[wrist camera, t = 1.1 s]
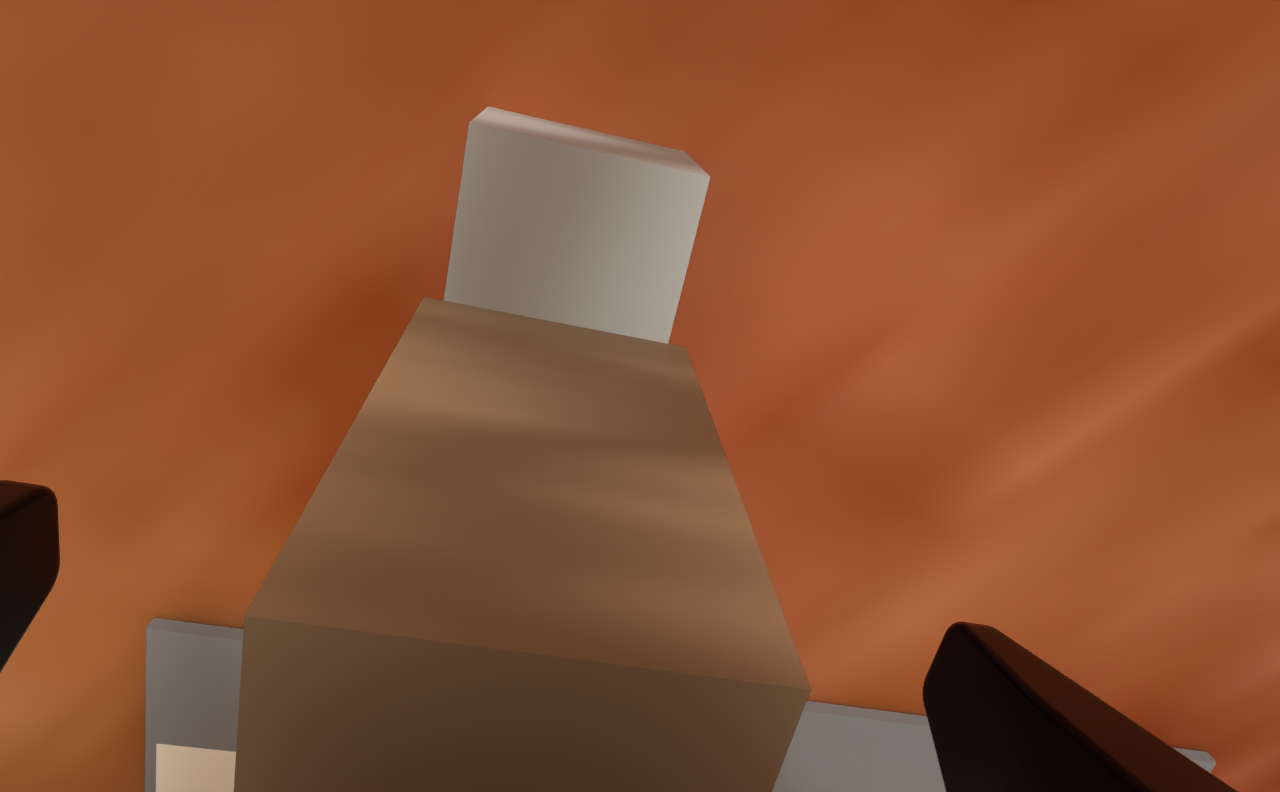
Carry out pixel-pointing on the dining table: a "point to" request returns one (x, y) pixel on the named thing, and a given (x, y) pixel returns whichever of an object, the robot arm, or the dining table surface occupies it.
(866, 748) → the board
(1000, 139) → the dining table surface
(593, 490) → the wood block grey top
